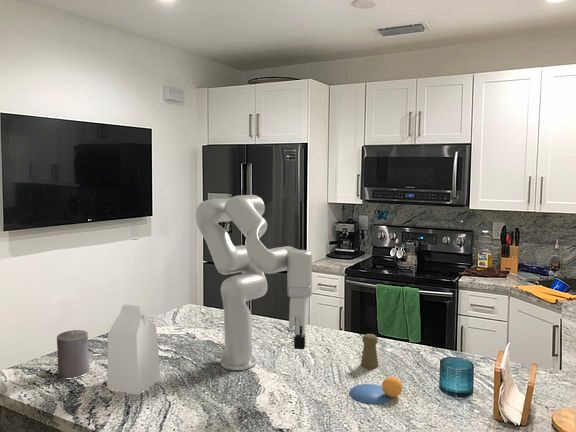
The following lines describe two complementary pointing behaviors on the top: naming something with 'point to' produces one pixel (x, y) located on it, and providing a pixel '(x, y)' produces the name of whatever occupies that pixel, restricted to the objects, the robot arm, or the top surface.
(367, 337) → the olive chess pawn
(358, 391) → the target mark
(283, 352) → the top surface
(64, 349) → the pillar candle
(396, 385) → the ball
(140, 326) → the milk
